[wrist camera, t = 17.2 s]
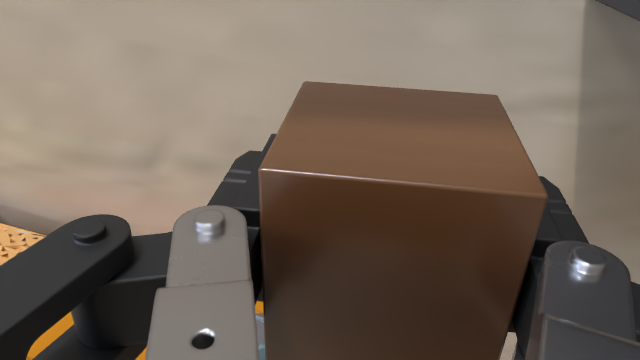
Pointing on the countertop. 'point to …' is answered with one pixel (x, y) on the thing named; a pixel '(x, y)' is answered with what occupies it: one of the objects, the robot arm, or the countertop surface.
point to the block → (394, 225)
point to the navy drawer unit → (625, 6)
